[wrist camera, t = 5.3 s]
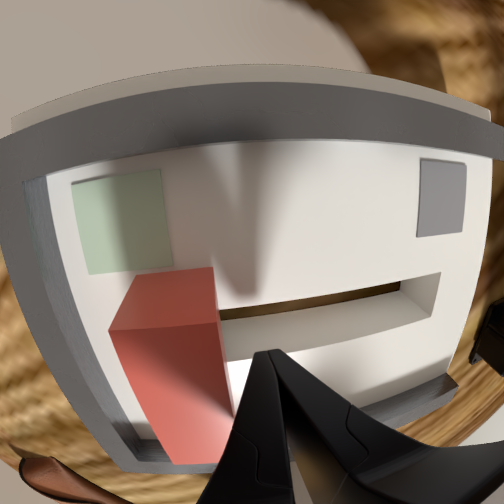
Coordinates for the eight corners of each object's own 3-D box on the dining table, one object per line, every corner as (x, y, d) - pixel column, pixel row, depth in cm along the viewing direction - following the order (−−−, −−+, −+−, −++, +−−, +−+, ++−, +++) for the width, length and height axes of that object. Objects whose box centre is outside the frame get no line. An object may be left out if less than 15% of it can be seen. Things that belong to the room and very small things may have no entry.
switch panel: (450, 111, 11) (491, 110, 8) (413, 372, 17) (435, 398, 14) (50, 122, 9) (9, 117, 6) (137, 423, 15) (131, 460, 12)
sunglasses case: (168, 515, 22) (150, 549, 17) (138, 498, 26) (122, 528, 21) (49, 453, 16) (23, 495, 11) (35, 435, 20) (13, 470, 14)
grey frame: (491, 129, 9) (513, 131, 7) (439, 387, 14) (450, 401, 13) (12, 144, 6) (-14, 146, 5) (125, 451, 12) (122, 471, 10)
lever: (211, 241, 11) (216, 322, 6) (228, 362, 13) (242, 460, 8) (150, 248, 10) (107, 330, 5) (178, 367, 12) (173, 464, 7)
